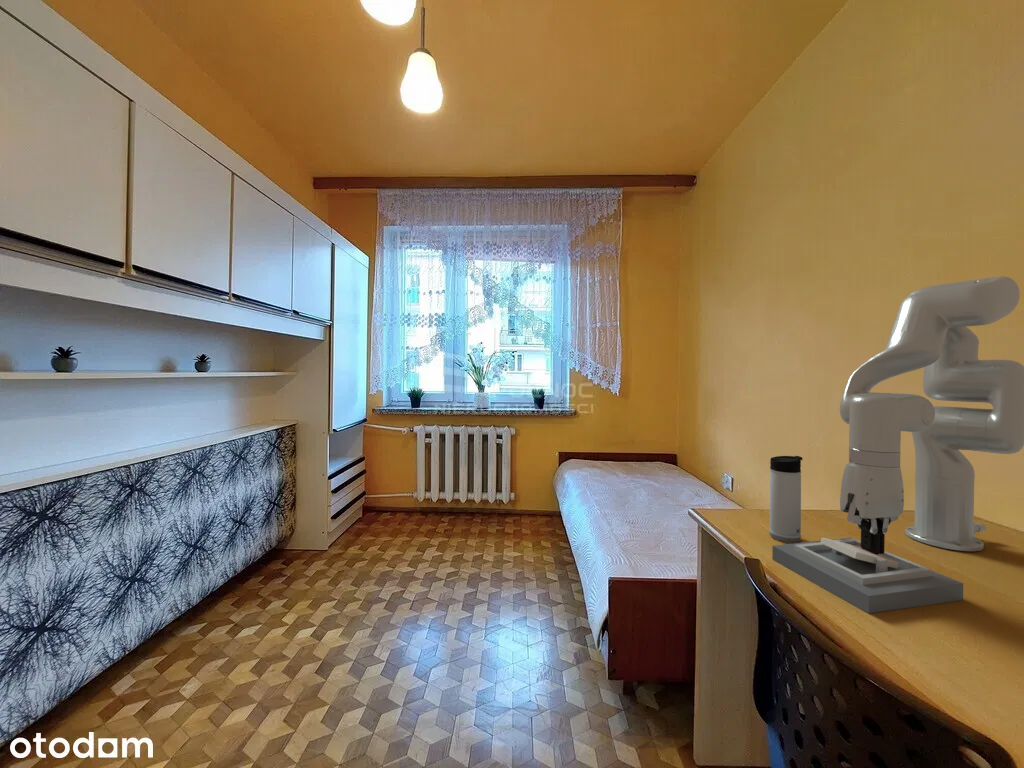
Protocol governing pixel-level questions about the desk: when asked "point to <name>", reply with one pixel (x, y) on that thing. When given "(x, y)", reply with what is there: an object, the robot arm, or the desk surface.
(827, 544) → the rocker switch
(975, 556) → the desk surface
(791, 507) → the travel mug
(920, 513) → the robot arm
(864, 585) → the switch plate
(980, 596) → the desk surface
